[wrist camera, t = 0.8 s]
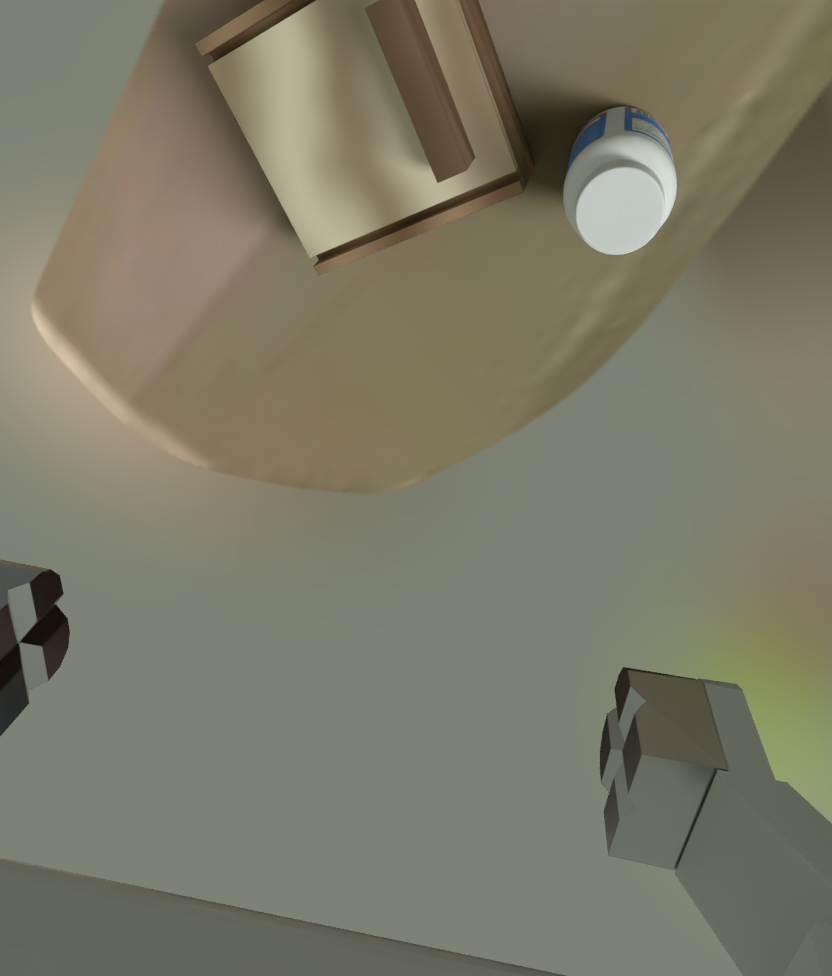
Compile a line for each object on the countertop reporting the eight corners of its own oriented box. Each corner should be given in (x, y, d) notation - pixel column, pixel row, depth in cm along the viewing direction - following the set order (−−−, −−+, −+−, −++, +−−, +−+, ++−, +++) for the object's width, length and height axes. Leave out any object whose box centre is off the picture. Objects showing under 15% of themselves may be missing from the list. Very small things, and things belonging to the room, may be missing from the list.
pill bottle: (577, 215, 43) (564, 279, 36) (563, 118, 40) (547, 165, 33) (675, 196, 41) (683, 259, 34) (668, 92, 38) (675, 137, 31)
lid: (433, -70, 33) (416, -68, 30) (518, 166, 38) (509, 184, 35) (214, 63, 38) (184, 74, 36) (314, 253, 44) (294, 274, 41)
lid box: (444, -97, 36) (418, -98, 32) (534, 163, 42) (523, 192, 38) (239, 30, 41) (194, 44, 37) (346, 243, 48) (318, 275, 43)
